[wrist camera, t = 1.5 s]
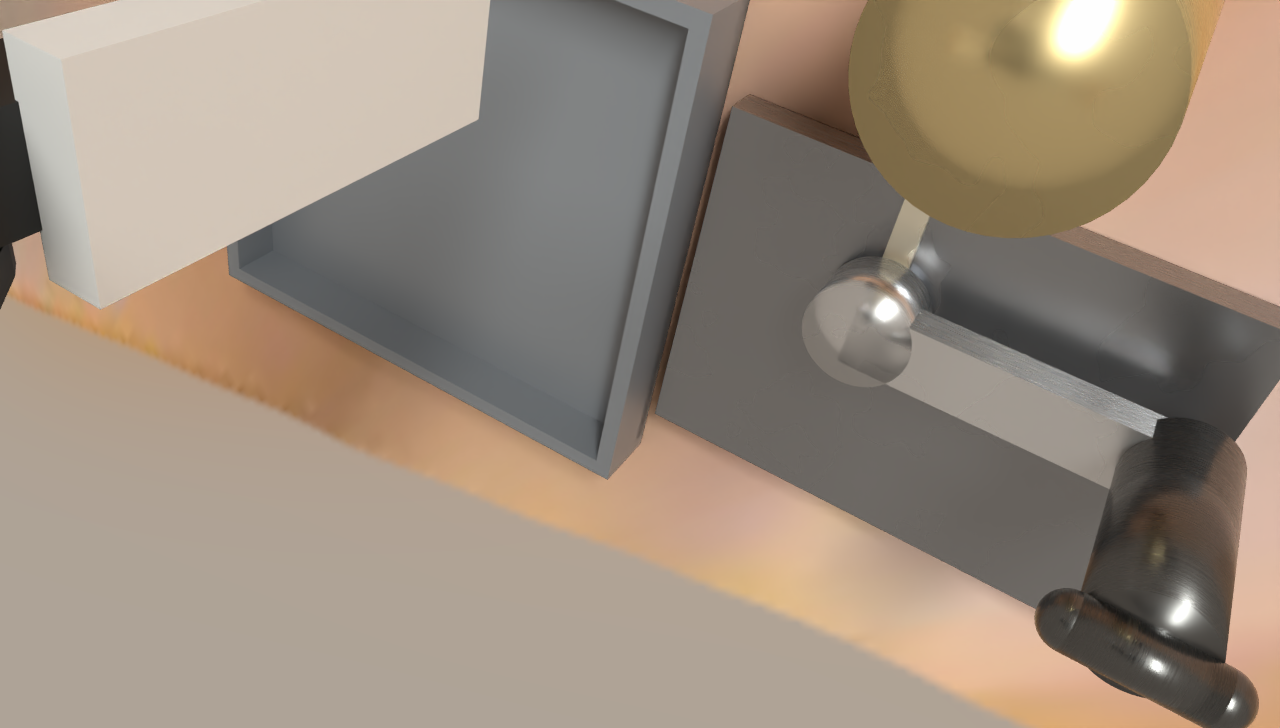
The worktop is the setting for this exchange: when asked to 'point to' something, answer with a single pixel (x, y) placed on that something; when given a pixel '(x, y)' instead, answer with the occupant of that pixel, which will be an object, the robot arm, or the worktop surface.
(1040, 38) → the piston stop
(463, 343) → the tray
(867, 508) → the crank plate
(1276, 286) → the worktop surface
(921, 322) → the crank lever
